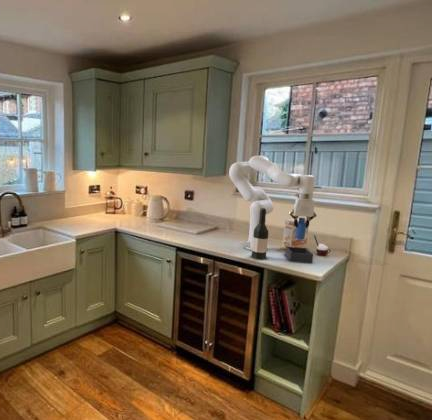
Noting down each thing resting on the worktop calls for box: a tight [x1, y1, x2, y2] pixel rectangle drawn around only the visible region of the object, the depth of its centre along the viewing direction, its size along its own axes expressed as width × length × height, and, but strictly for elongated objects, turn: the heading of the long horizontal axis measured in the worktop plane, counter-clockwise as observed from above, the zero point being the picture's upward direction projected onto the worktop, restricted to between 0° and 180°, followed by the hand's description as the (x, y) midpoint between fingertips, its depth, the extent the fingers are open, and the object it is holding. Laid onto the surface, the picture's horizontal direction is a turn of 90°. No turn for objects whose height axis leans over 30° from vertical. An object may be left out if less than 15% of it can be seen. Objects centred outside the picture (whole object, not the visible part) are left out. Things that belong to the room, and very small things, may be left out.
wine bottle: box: [251, 208, 269, 261], centre depth 213 cm, size 8×8×30 cm
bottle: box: [295, 217, 306, 239], centre depth 211 cm, size 5×5×12 cm
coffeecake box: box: [281, 217, 310, 250], centre depth 234 cm, size 15×7×20 cm, turn 115°
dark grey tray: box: [284, 247, 314, 264], centre depth 214 cm, size 12×14×5 cm
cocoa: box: [313, 234, 331, 256], centre depth 222 cm, size 10×6×12 cm, turn 54°
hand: (301, 226), depth 211 cm, fingers closed on bottle, 5 cm apart
